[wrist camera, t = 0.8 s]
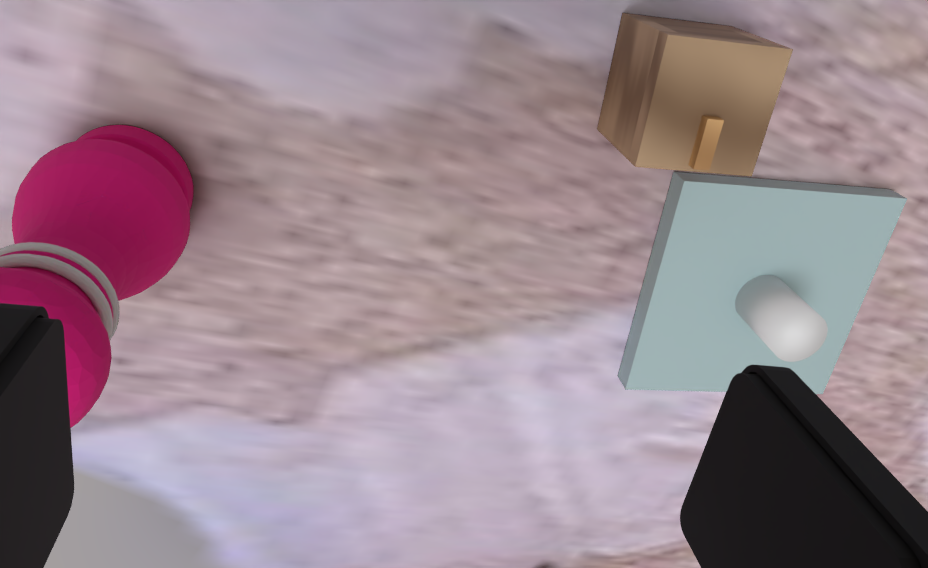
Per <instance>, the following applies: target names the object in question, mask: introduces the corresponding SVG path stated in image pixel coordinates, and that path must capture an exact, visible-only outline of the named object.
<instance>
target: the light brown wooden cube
mask: <svg viewBox="0 0 928 568" xmlns="http://www.w3.org/2000/svg"><path fill="white" fill-rule="evenodd" d="M792 51H793V49H790V48H788V47H785V46H783V45H780V44H777V43H775V42H772V41H769V40H767V39H764V38H761V37H759V36H756V35H753V34H751V33H748V32H746V31H743V30H740V29H738V28H735V27H732V26H726V25H718V24H709V23H701V22H693V21H685V20H677V19H669V18H661V17H653V16H645V15H636V14H628V13H622V17H621V22H620V27H619V31H618V36H617V40H616V45H615V50H614V54H613V59H612V63H611V68H610V73H609V77H608V82H607V86H606V91H605V95H604V100H603V105H602V109H601V114H600V118H599V123H598V128H597V130H598V131H599V132H600V133H601V134H602V135H603V136H605V137H606V138H607V139H608V140H609V141H610V142H611V143H612V144H613V145H614V146H615V147H616V148H617V149H618V150H619V151H620V152H621V153H622V154H623V155H624V156H625V157H626V158H627V159H628V160H629V161H630V162H631V163H632V164H633V165H634V166H635V167H644V168H656V169H668V170H680V171H693V172H705V173H717V174H729V175H741V176H752V174H753V170H754V167H755V164H756V161H757V158H758V155H759V152H760V149H761V146H762V143H763V140H764V137H765V134H766V131H767V127H768V124H769V121H770V118H771V115H772V112H773V109H774V106H775V103H776V100H777V97H778V94H779V91H780V87H781V84H782V81H783V78H784V75H785V72H786V69H787V66H788V63H789V60H790V57H791V54H792Z"/></svg>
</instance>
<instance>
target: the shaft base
mask: <svg viewBox="0 0 928 568" xmlns="http://www.w3.org/2000/svg"><path fill="white" fill-rule="evenodd" d="M906 200H907V198H905V197H903V196H902V195H900V194H898V193H896V192H894V191H893V190H891V189H881V188H869V187H856V186H844V185H832V184H820V183H808V182H795V181H783V180H771V179H759V178H747V177H734V176H722V175H710V174H698V173H685V172H673V176H672V179H671V183H670V187H669V190H668V194H667V198H666V201H665V205H664V209H663V212H662V216H661V220H660V223H659V227H658V231H657V234H656V238H655V242H654V245H653V249H652V253H651V256H650V260H649V264H648V267H647V271H646V275H645V278H644V282H643V285H642V289H641V293H640V296H639V300H638V304H637V307H636V311H635V315H634V318H633V322H632V326H631V329H630V333H629V337H628V340H627V344H626V348H625V351H624V355H623V359H622V362H621V366H620V370H619V373H618V377H619V379H620V381H621V382H622V384H623V386H624V388H625V390H669V391H714V392H727V390H728V387H729V384H730V382H731V380H732V378H733V377H734V376H735V375H736V374H738V373H742V371H743V370H744V369H745V368H746V367H747V366H749V365H765V366H777V367H786V368H790V369H791V370H793V371H794V372H795V373H796V374H797V375H798V376H799V377H800V378H801V379H802V380H803V382H804V383H805V384H806V385H807V386H808V387H809V388H810V389H811V390H812V391H813V392H814V393H815V394H823V392H824V389H825V387H826V385H827V383H828V380H829V378H830V376H831V373H832V371H833V369H834V366H835V364H836V362H837V359H838V357H839V355H840V353H841V350H842V348H843V346H844V343H845V341H846V339H847V336H848V334H849V332H850V329H851V327H852V325H853V323H854V320H855V318H856V316H857V313H858V311H859V309H860V306H861V304H862V302H863V299H864V297H865V295H866V292H867V290H868V288H869V286H870V283H871V281H872V279H873V276H874V274H875V272H876V269H877V267H878V265H879V262H880V260H881V258H882V256H883V253H884V251H885V249H886V246H887V244H888V242H889V239H890V237H891V235H892V232H893V230H894V228H895V226H896V223H897V221H898V219H899V216H900V214H901V212H902V209H903V207H904V205H905V202H906Z"/></svg>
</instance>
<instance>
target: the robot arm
mask: <svg viewBox="0 0 928 568" xmlns="http://www.w3.org/2000/svg"><path fill="white" fill-rule="evenodd" d="M73 493H74V475H73V460H72V445H71V430H70V415H69V400H68V385H67V370H66V354H65V339H64V328H63V324H62V321H61V320H60V319H50V318H49V316H48V313H47V311H46V309H45V308H44V307H43V306H31V305H18V304H6V303H0V568H43V567H44V565H45V563H46V561H47V558H48V557H49V554H50V552H51V550H52V548H53V546H54V543H55V541H56V539H57V537H58V535H59V533H60V531H61V529H62V527H63V524H64V522H65V520H66V518H67V516H68V513H69V510H70V508H71V504H72V499H73ZM680 522H681V528H682V531H683V534H684V536H685V538H686V540H687V541H688V543H689V545H690V547H691V549H692V551H693V553H694V555H695V557H696V558H697V560H698V562H699V564H700V566H701V568H928V512H927V511H926V509H925V508H924V507H923V506H922V505H921V504H920V503H919V502H918V501H917V500H916V499H915V498H914V497H913V496H912V495H911V494H910V493H909V492H908V491H907V490H906V488H905V487H904V486H903V485H902V484H901V483H900V482H899V481H898V480H897V479H896V478H895V477H894V476H893V475H892V474H891V473H890V472H889V471H888V470H887V469H886V468H885V466H884V465H883V464H882V463H881V462H880V461H879V460H878V459H877V458H876V457H875V456H874V455H873V454H872V453H871V452H870V451H869V450H868V449H867V448H866V447H865V445H864V444H863V443H862V442H861V441H860V440H859V439H858V438H857V437H856V436H855V435H854V434H853V433H852V432H851V431H850V430H849V429H848V428H847V427H846V426H845V425H844V423H843V422H842V421H841V420H840V419H839V418H838V417H837V416H836V415H835V414H834V413H833V412H832V411H831V410H830V409H829V408H828V407H827V406H826V405H825V404H824V402H823V401H822V400H821V399H820V398H819V397H818V396H817V395H816V394H815V393H814V392H813V391H812V390H811V389H810V388H809V387H808V386H807V385H806V384H805V383H804V382H803V380H802V379H801V378H800V377H799V376H798V375H797V374H796V373H795V372H794V371H793V370H791V369H790V368H786V367H777V366H765V365H749V366H747V367H746V368H745V369H744V370H743V371H742V373H738V374H736V375H735V376H734V377H733V378H732V380H731V382H730V384H729V387H728V390H727V392H726V395H725V397H724V400H723V402H722V405H721V408H720V410H719V413H718V415H717V418H716V420H715V423H714V426H713V428H712V431H711V433H710V436H709V438H708V441H707V444H706V446H705V449H704V451H703V454H702V456H701V459H700V462H699V464H698V467H697V469H696V472H695V474H694V477H693V480H692V482H691V485H690V487H689V490H688V492H687V495H686V498H685V500H684V503H683V505H682V509H681V514H680Z"/></svg>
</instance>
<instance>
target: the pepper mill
mask: <svg viewBox="0 0 928 568" xmlns="http://www.w3.org/2000/svg"><path fill="white" fill-rule="evenodd" d="M192 201H193V182H192V177H191V174H190V172H189V169H188V167H187V165H186V163H185V162H184V160H183V159H182V157H181V156H180V154H179V153H178V152H177V151H176V150H175V149H174V148H173V147H172V146H171V145H170V144H169V143H167V142H166V141H165V140H163V139H162V138H160V137H159V136H157V135H155V134H153V133H151V132H149V131H147V130H144V129H141V128H137V127H133V126H127V125H109V126H103V127H100V128H96V129H94V130H91V131H89V132H87V133H86V134H84V135H82V136H81V137H80V138H79V139H78V140H77V141H74V142H71V143H67V144H64V145H62V146H60V147H58V148H56V149H54V150H51V151H50V152H48V153H47V154H46V155H44V156H43V157H41V158H40V159H39V160H38V162H37V163H36V164H35V165H34V166H33V167H32V168H31V170H30V171H29V173H28V174H27V176H26V177H25V179H24V180H23V182H22V183H21V185H20V187H19V190H18V193H17V195H16V199H15V205H14V210H13V216H12V231H13V237H14V243H15V244H13V245H9V246H6V247H4V248H1V249H0V303H6V304H18V305H31V306H43V307H44V308H45V309H46V311H47V313H48V316H49V318H50V319H60V320H61V321H62V324H63V328H64V339H65V354H66V370H67V385H68V400H69V415H70V428H71V427H73V426H74V425H75V424H77V423H78V422H79V421H80V420H81V419H82V418H83V417H84V416H85V415H86V414H87V413H88V412H89V411H90V409H91V408H92V407H93V405H94V404H95V402H96V401H97V400H98V398H99V397H100V395H101V393H102V390H103V388H104V386H105V384H106V382H107V379H108V376H109V371H110V364H111V346H110V340H111V338H112V336H113V335H114V333H115V331H116V329H117V325H118V322H119V302H118V301H119V300H122V299H125V298H128V297H131V296H133V295H136V294H138V293H140V292H142V291H144V290H145V289H147V288H149V287H150V286H152V285H153V284H155V283H156V282H158V281H159V280H160V279H161V278H163V277H164V276H165V275H166V274H167V273H168V272H169V270H170V269H171V268H172V267H173V266H174V264H175V263H176V261H177V260H178V258H179V257H180V256H181V254H182V252H183V250H184V248H185V246H186V244H187V240H188V236H189V231H190V213H189V211H190V209H191V206H192Z"/></svg>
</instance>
